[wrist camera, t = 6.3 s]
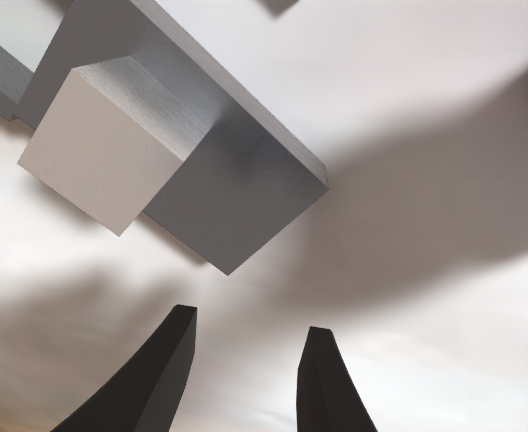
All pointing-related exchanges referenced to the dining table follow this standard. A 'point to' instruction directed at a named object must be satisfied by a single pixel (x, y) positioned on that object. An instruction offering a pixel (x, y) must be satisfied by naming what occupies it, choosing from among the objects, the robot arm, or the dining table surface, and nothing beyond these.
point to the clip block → (112, 140)
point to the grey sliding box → (205, 107)
